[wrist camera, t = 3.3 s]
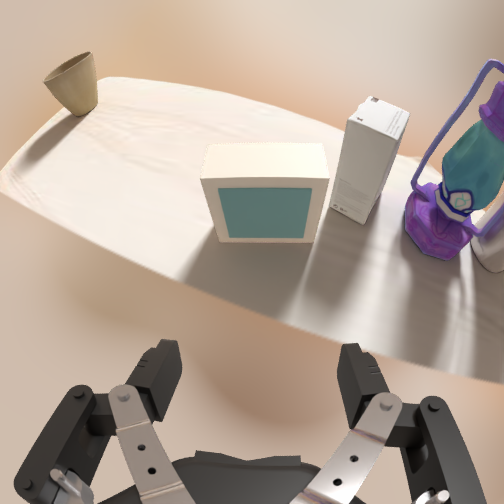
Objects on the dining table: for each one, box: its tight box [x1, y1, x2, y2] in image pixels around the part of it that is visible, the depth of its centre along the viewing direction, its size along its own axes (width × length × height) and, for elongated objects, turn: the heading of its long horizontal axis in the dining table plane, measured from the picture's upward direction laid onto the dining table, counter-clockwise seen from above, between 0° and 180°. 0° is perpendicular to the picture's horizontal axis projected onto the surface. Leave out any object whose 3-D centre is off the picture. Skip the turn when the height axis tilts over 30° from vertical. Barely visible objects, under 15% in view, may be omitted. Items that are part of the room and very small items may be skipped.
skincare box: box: [329, 96, 410, 225], centre depth 31 cm, size 8×6×15 cm
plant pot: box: [43, 51, 98, 116], centre depth 52 cm, size 15×15×16 cm
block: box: [200, 143, 330, 243], centre depth 31 cm, size 12×5×12 cm, turn 88°
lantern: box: [405, 59, 504, 261], centre depth 21 cm, size 13×12×30 cm
